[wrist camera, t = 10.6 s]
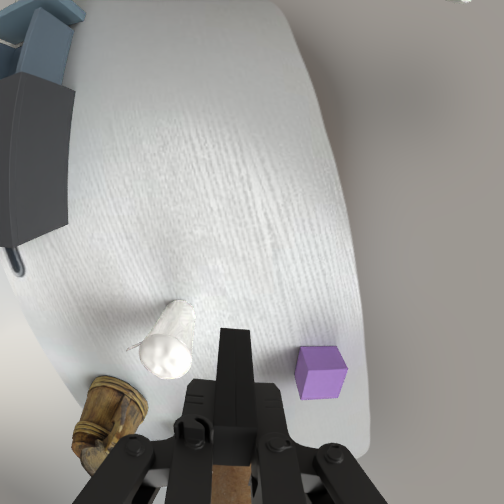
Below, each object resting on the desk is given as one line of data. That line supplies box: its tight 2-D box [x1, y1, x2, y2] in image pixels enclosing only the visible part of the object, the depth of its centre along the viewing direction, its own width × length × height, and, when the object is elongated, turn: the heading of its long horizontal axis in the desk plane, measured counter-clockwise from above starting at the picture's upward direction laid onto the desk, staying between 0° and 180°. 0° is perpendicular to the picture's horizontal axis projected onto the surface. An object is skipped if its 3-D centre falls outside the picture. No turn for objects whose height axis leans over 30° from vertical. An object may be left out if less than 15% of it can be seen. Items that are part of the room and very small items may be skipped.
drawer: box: [0, 0, 86, 85], centre depth 16 cm, size 19×11×8 cm, turn 175°
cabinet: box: [0, 72, 75, 248], centre depth 20 cm, size 15×13×10 cm
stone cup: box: [211, 464, 251, 504], centre depth 29 cm, size 15×12×15 cm
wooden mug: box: [71, 376, 148, 477], centre depth 25 cm, size 9×14×18 cm, turn 134°
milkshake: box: [126, 300, 196, 379], centre depth 25 cm, size 4×5×10 cm
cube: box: [294, 346, 348, 400], centre depth 30 cm, size 4×4×4 cm
